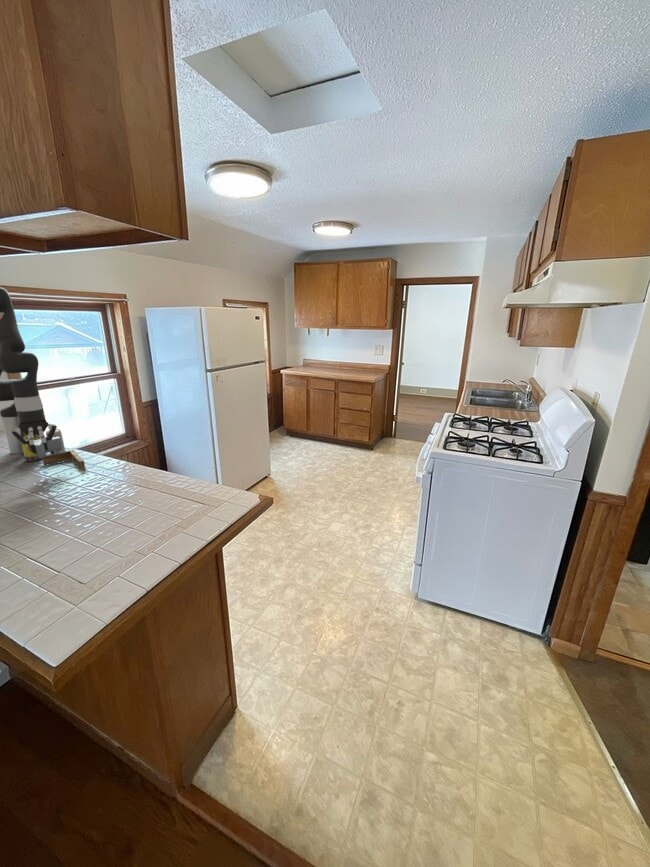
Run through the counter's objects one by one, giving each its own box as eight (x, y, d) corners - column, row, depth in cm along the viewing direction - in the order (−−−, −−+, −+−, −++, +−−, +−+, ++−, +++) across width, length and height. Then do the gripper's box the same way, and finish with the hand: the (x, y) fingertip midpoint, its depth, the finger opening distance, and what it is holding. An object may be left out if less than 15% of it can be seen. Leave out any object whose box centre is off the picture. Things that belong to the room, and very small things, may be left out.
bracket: (35, 452, 133) (32, 440, 132) (61, 448, 139) (58, 436, 138) (38, 458, 129) (35, 445, 127) (65, 452, 135) (62, 440, 133)
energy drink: (54, 455, 156) (48, 429, 152) (68, 454, 157) (62, 428, 154) (49, 459, 151) (43, 433, 148) (63, 458, 153) (57, 432, 149)
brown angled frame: (43, 464, 145) (41, 455, 144) (74, 458, 152) (73, 449, 151) (52, 477, 132) (49, 467, 131) (85, 469, 140) (83, 460, 139)
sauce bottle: (32, 462, 147) (21, 417, 141) (21, 460, 148) (10, 416, 143) (47, 457, 153) (37, 414, 147) (37, 456, 154) (27, 412, 149)
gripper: (51, 403, 133) (60, 446, 138) (3, 409, 123) (14, 454, 128) (55, 407, 128) (64, 450, 133) (5, 412, 118) (17, 459, 124)
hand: (40, 452), depth 131 cm, fingers closed on bracket, 2 cm apart
